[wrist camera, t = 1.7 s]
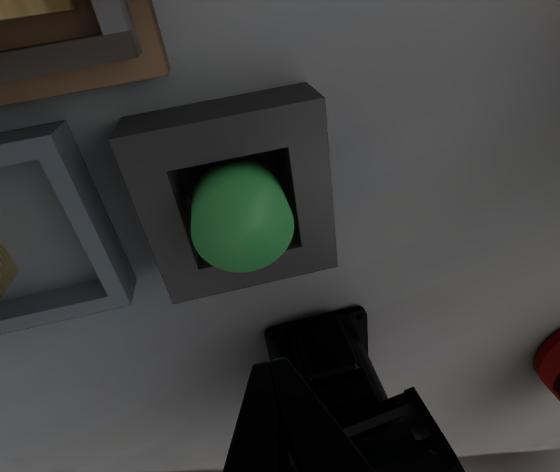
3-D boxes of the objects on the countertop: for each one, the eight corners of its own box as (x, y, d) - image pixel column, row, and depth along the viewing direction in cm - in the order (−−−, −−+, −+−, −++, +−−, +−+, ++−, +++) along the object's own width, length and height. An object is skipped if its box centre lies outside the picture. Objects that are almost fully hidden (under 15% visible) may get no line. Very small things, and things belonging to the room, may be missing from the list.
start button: (287, 228, 19) (299, 260, 16) (204, 246, 18) (205, 281, 16) (274, 148, 16) (287, 173, 14) (180, 167, 16) (177, 195, 14)
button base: (321, 234, 21) (337, 266, 19) (175, 266, 21) (172, 304, 18) (306, 82, 17) (324, 97, 15) (121, 117, 16) (108, 139, 14)
